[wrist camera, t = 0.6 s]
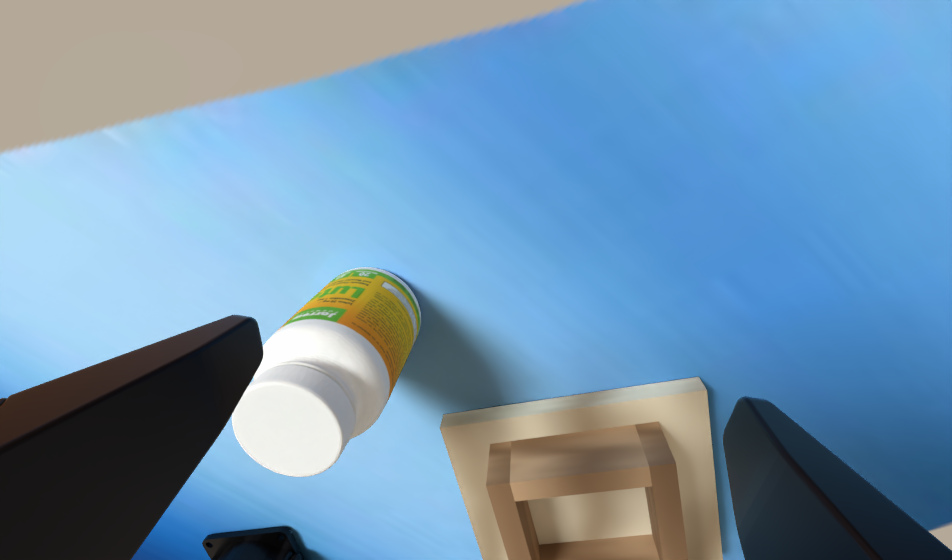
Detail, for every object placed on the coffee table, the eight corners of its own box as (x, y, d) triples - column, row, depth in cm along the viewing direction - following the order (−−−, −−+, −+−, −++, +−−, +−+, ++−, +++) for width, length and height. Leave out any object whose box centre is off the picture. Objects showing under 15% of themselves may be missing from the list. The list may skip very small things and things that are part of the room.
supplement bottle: (385, 246, 23) (296, 336, 14) (442, 330, 25) (394, 461, 16) (304, 293, 25) (178, 403, 16) (362, 370, 26) (277, 512, 17)
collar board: (491, 563, 31) (486, 630, 27) (443, 414, 27) (429, 467, 23) (715, 543, 28) (746, 615, 24) (698, 376, 24) (732, 429, 20)
